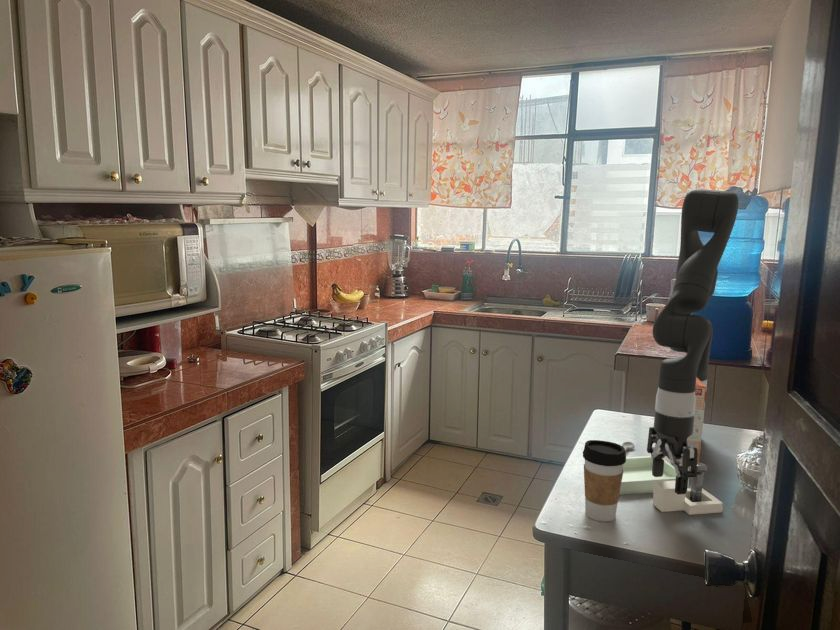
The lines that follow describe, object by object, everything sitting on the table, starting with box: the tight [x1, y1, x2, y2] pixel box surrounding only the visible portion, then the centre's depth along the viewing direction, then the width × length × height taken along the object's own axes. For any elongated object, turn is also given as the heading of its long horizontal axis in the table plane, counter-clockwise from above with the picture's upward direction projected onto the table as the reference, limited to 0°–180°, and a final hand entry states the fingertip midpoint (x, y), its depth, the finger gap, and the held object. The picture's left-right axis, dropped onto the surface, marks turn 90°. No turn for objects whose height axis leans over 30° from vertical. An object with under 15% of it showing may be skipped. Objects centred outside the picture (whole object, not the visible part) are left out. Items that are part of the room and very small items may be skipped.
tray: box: [619, 455, 690, 496], centre depth 142 cm, size 13×18×3 cm
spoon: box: [621, 441, 635, 452], centre depth 158 cm, size 3×12×2 cm, turn 147°
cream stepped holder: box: [652, 481, 724, 516], centre depth 129 cm, size 12×8×5 cm, turn 100°
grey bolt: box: [689, 461, 708, 502], centre depth 130 cm, size 3×3×9 cm
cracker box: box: [677, 377, 708, 469], centre depth 154 cm, size 14×6×21 cm, turn 168°
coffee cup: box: [582, 439, 627, 523], centre depth 124 cm, size 8×8×15 cm
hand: (668, 484), depth 128 cm, fingers open, 8 cm apart
